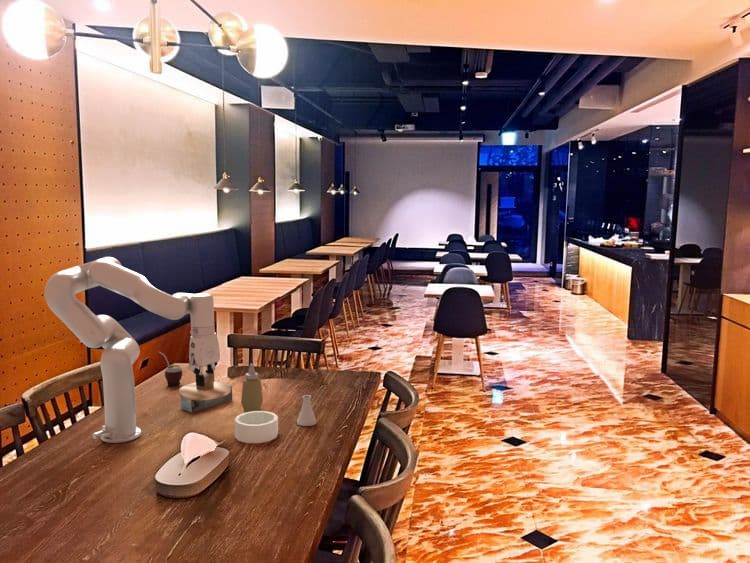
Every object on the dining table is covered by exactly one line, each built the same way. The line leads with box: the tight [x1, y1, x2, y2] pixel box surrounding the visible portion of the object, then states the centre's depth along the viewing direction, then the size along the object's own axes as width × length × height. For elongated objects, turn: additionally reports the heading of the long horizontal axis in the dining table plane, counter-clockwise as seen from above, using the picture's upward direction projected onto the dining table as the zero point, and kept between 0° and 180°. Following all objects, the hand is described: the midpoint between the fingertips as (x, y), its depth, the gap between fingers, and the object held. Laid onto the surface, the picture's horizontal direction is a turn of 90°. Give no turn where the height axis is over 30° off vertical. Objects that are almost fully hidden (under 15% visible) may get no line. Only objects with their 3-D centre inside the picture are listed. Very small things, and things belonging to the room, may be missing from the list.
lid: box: [178, 371, 232, 400], centre depth 209 cm, size 17×17×6 cm
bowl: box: [234, 410, 279, 444], centre depth 210 cm, size 14×14×6 cm
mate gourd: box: [158, 351, 183, 388], centre depth 262 cm, size 8×8×15 cm
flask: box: [296, 394, 317, 427], centre depth 221 cm, size 7×7×10 cm
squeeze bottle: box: [240, 363, 264, 413], centre depth 233 cm, size 8×8×18 cm
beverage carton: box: [180, 385, 233, 413], centre depth 240 cm, size 8×19×7 cm, turn 139°
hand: (205, 383), depth 209 cm, fingers closed on lid, 4 cm apart
